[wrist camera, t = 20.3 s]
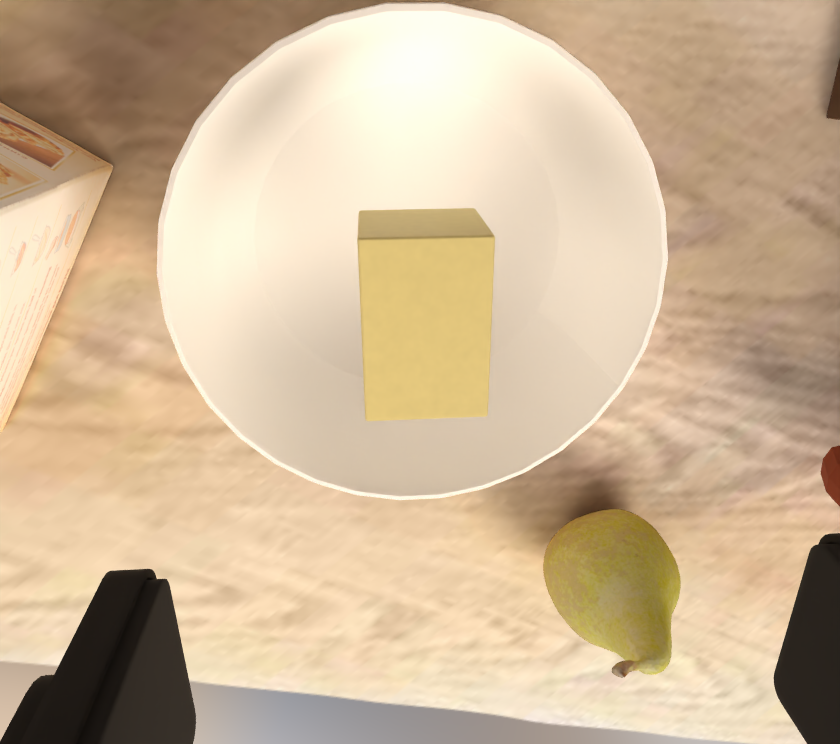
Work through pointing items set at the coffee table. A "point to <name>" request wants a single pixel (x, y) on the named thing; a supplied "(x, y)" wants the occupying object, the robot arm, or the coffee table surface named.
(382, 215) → the butter
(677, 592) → the fruit
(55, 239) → the coffeecake box
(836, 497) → the mug
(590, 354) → the bowl
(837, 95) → the lever stand
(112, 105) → the coffee table surface
